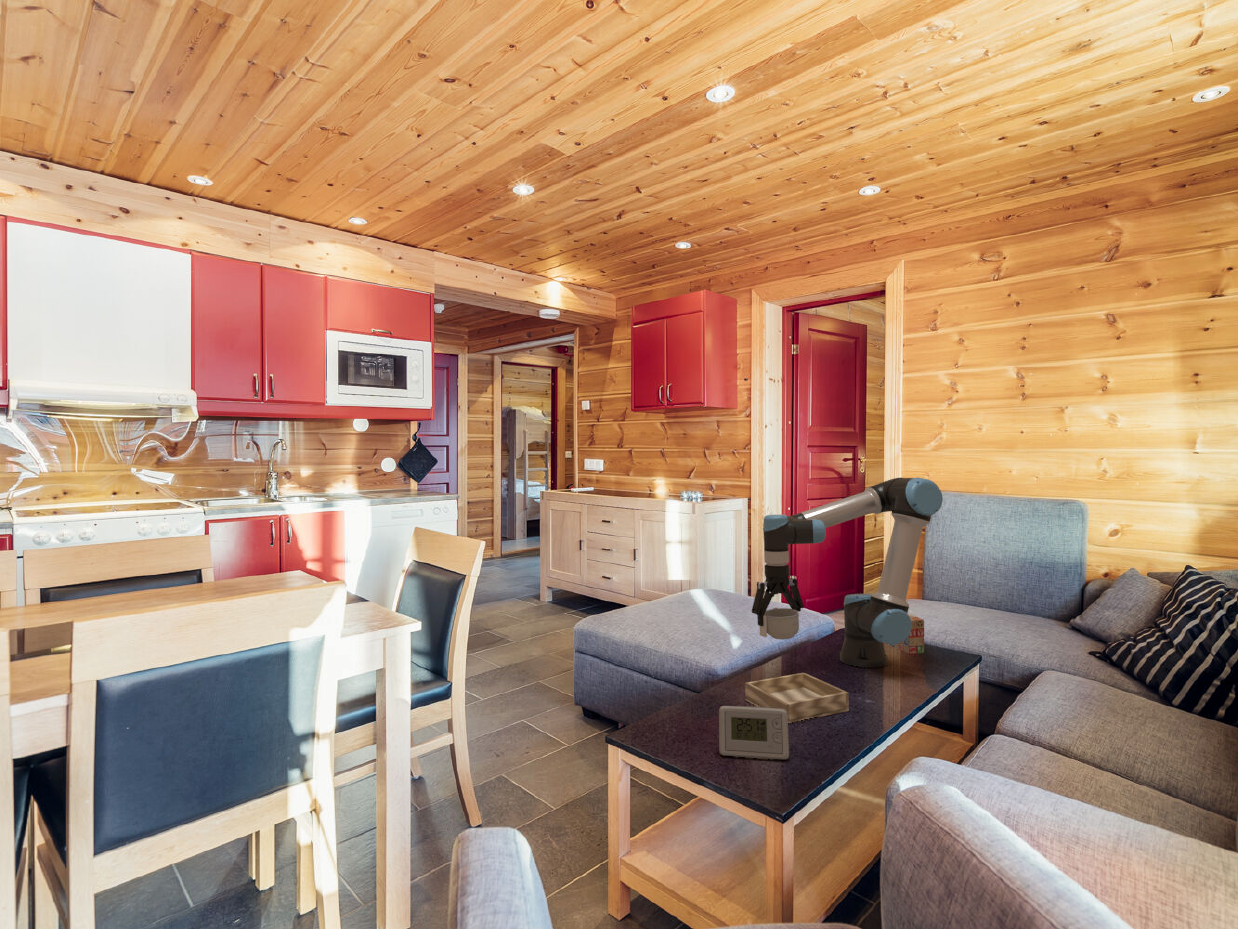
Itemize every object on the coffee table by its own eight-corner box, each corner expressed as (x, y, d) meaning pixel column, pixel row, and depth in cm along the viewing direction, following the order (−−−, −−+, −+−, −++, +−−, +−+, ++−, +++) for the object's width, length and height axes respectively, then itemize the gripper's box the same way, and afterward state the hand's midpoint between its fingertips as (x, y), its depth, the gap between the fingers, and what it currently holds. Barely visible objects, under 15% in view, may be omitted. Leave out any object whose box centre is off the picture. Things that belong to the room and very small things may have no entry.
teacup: (800, 642, 193) (799, 616, 193) (764, 641, 195) (763, 615, 195) (797, 630, 206) (796, 605, 206) (763, 629, 209) (762, 605, 209)
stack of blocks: (874, 639, 246) (873, 607, 247) (889, 637, 248) (888, 606, 248) (909, 654, 225) (908, 620, 225) (925, 653, 227) (924, 619, 227)
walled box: (804, 689, 193) (803, 672, 193) (848, 710, 175) (848, 692, 175) (745, 700, 185) (745, 682, 185) (786, 724, 167) (785, 705, 167)
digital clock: (716, 756, 150) (715, 711, 150) (724, 741, 158) (724, 698, 158) (786, 768, 143) (785, 720, 143) (791, 751, 152) (791, 706, 152)
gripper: (799, 559, 208) (801, 626, 208) (738, 565, 199) (740, 635, 199) (814, 562, 201) (816, 631, 201) (752, 568, 192) (754, 641, 192)
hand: (778, 633), depth 200 cm, fingers closed on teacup, 11 cm apart
